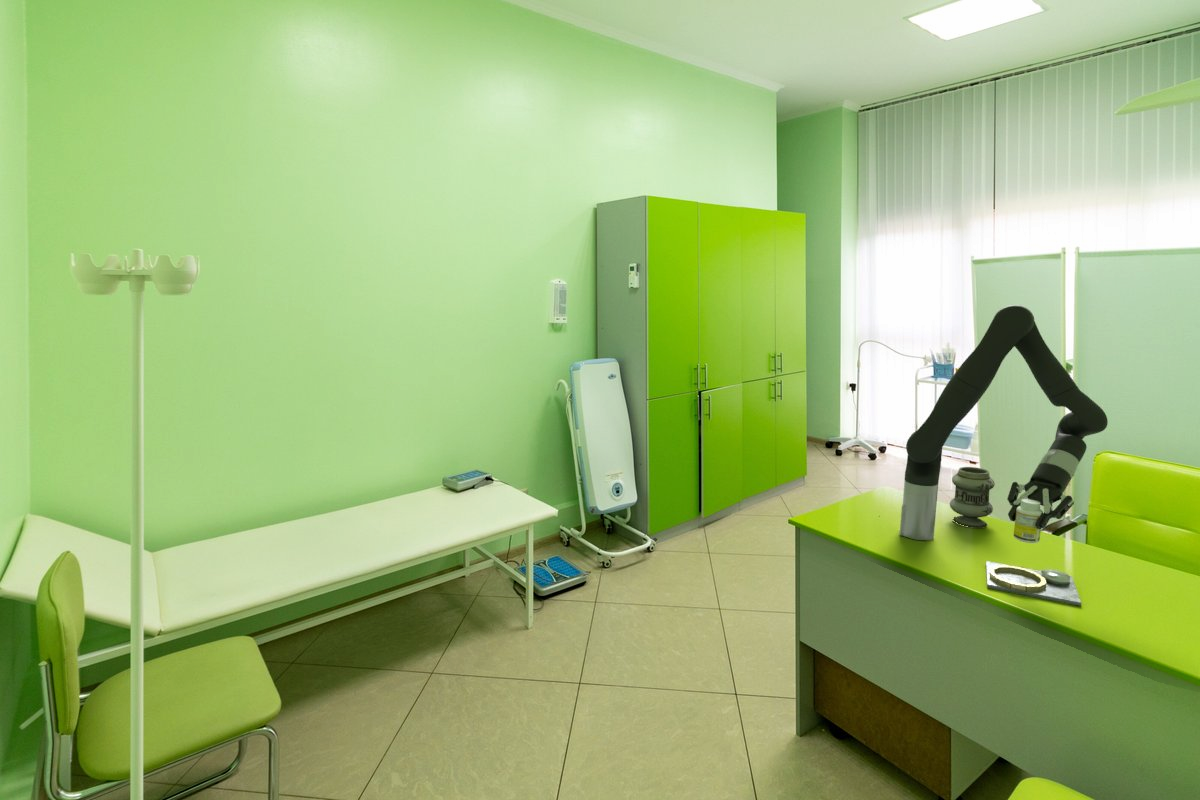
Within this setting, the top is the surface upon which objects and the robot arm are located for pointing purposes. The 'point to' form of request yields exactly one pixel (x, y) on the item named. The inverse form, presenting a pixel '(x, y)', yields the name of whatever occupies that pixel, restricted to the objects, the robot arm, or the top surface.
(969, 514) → the apothecary jar
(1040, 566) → the top surface
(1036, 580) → the carrier plate
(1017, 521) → the supplement bottle
